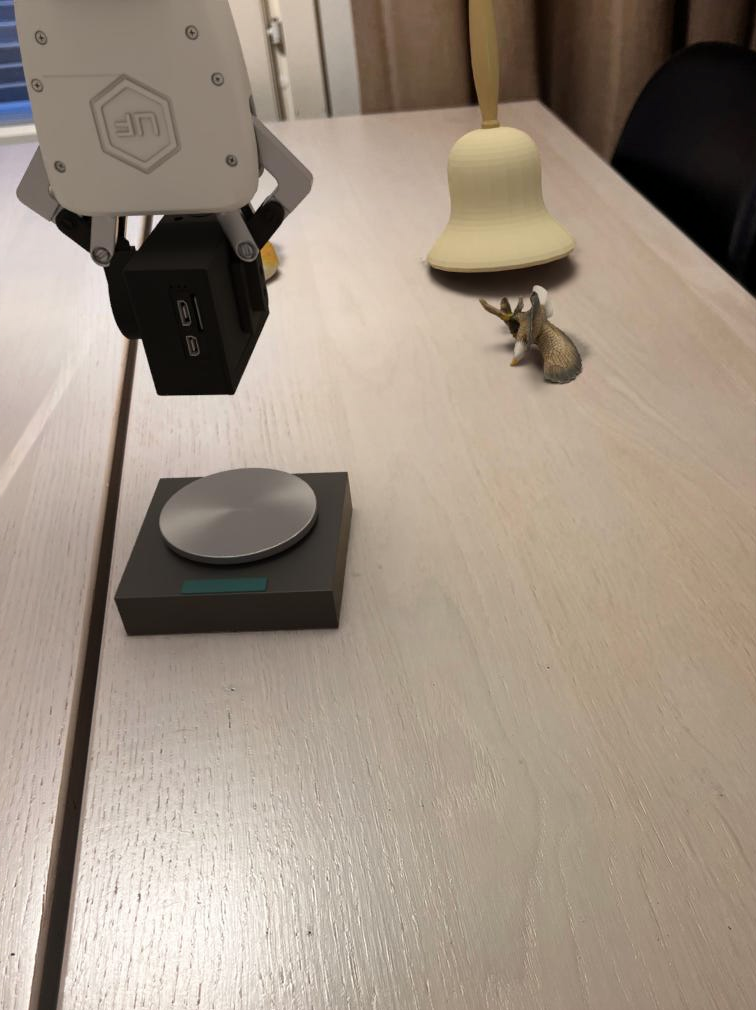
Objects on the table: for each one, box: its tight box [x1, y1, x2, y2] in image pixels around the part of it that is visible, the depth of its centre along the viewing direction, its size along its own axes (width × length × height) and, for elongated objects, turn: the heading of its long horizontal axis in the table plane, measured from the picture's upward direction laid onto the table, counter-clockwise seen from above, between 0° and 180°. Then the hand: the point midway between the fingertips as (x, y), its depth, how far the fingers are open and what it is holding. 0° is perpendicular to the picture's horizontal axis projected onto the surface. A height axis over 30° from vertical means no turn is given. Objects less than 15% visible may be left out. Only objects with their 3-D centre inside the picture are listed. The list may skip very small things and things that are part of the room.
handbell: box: [425, 0, 577, 273], centre depth 95 cm, size 15×15×25 cm
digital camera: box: [107, 213, 271, 397], centre depth 54 cm, size 10×5×7 cm, turn 178°
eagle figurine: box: [478, 285, 583, 384], centre depth 84 cm, size 8×7×9 cm
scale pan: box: [159, 467, 318, 564], centre depth 63 cm, size 10×10×1 cm
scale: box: [113, 471, 353, 636], centre depth 64 cm, size 13×13×3 cm
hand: (197, 322), depth 55 cm, fingers closed on digital camera, 5 cm apart
